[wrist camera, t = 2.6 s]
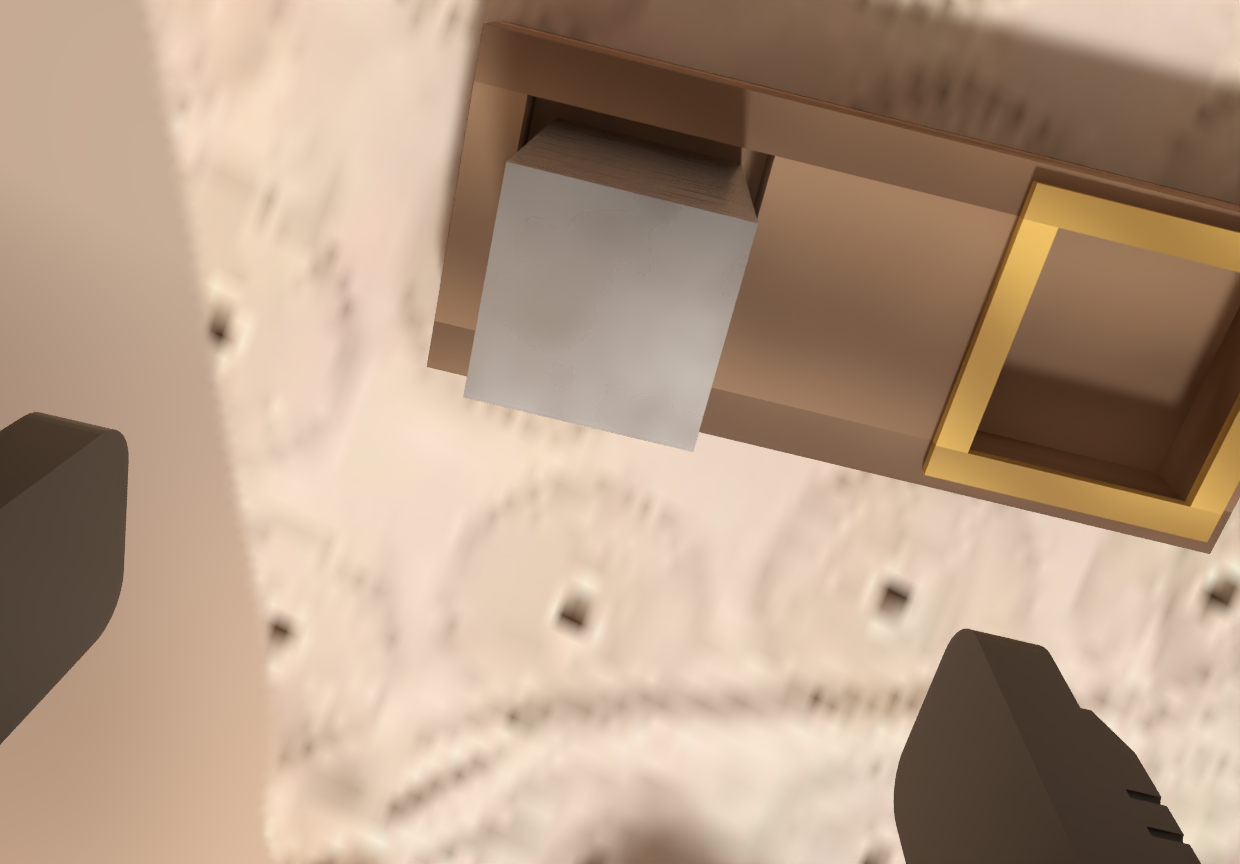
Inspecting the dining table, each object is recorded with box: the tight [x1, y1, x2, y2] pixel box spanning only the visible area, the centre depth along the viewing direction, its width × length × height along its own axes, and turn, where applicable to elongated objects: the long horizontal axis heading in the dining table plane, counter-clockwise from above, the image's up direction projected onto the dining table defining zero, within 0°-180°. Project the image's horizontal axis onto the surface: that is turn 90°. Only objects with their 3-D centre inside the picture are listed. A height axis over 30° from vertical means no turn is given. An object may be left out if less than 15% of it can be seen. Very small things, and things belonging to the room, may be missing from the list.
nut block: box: [463, 118, 758, 452], centre depth 22 cm, size 4×4×7 cm
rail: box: [427, 21, 1240, 554], centre depth 25 cm, size 8×20×3 cm, turn 77°
